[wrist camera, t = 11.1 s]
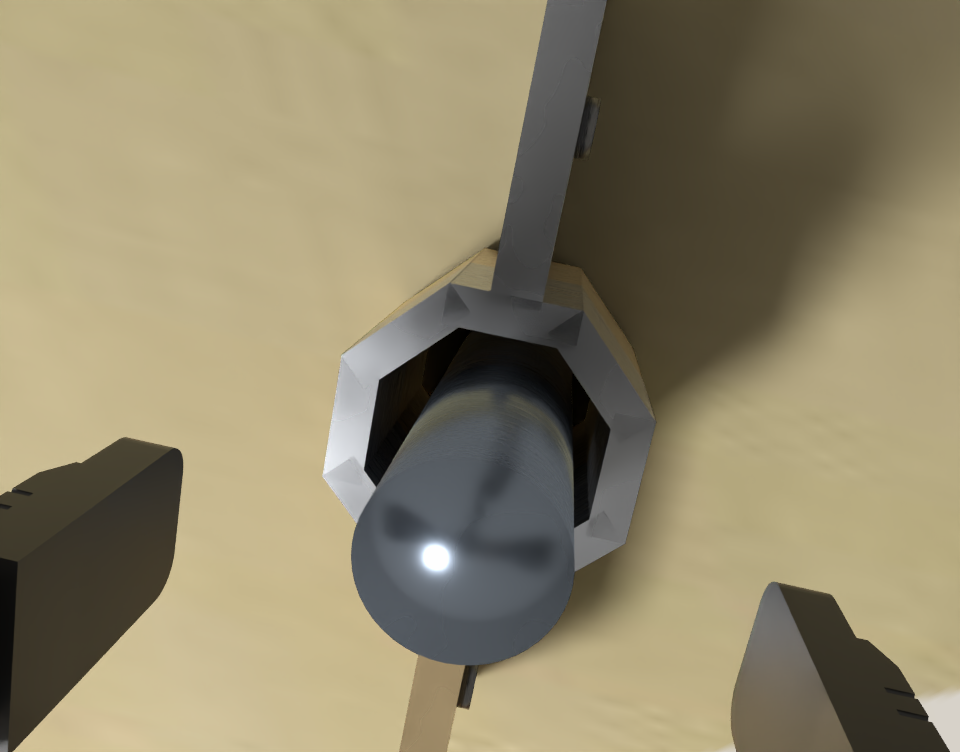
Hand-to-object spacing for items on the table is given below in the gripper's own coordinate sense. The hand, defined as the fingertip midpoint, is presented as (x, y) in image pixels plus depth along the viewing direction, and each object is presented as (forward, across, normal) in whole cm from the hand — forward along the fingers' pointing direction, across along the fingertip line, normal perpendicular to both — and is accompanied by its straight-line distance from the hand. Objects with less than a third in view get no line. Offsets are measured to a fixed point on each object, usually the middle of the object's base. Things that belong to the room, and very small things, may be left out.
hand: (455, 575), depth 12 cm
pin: (+13, 0, 0) cm, 13 cm away
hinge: (+13, 0, 0) cm, 13 cm away
